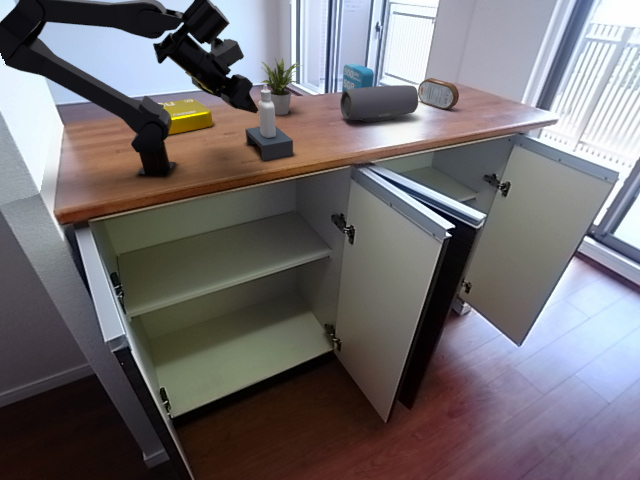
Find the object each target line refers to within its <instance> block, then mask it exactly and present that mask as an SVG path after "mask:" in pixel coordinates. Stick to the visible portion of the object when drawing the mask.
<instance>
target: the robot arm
mask: <svg viewBox="0 0 640 480" xmlns="http://www.w3.org/2000/svg"><path fill="white" fill-rule="evenodd" d="M47 23H53V24H64V25H65V24H66V25H76V26H77V25H78V26H87V27H88V26H89V27H99V28H100V27H101V28H112V29H116V30H119V31H123V32H125V33H128V34H131V35H134V36H138V37H141V38H146V39H149V40H156V39H159V38H161V37H162V36H163V35H164V34H165V32H168V31H174V32H169V33H168V34H167V35H166V36H165V37H164V38H163V40H161V41H160V42H158V43H157V42H156V43H155V42H154V43H152V46H153V50H154V54H155V58H156V61H157V64H159V65H161V64H163V62H164V61H166V59H168V58H169V59H170V60H171V61H172V62H174V63H175V64H176V65H177V66H178V67H179V68H181V69H182V70H183V71H184V72H185V74H186V75H187V76H189V77H190V79H191V84H192V85H193V86H194V87H196V88H197V89H198V90H201V91H202V92H204V93H206V94H207V95H211V96H213V97H217V98H220V99H221V100H222V101H223V102H224V103H225V104H227V105H228V106H230V107H231V108H233V109H235V110H239V111H240V110H241V111H244V112H248V113H253V114H257V113H259V107H258V106H257V104H256V103H255V101H254V99H253V98H252V96H251V94H250V92H251V90H252V88H253V87H254V83H253V82H252V81H251V80H250V79H249V78H248V77H247V76H244V75H242V74H240V73H236V74H232V76H231V77H229V74H230V73H231V71H232V69H231V68H230V67H231V66H232V65H234V64H236V63H237V62H238V61H241V60H243V59H244V58H245V54H244V53H243V51H242V48H241V46H240V44H239V42H238V41H237V40H234V39H231V38H227V39H226V38H223V40H222V39H221V38H219V36H220V35H221V33H222V32H223V31H224V30H225V29H226V28H227V27H228V26H229V25H230V24H231V23H230V21H229V20H228V18H227V17H226V16H225V15H224V13H223V12H222V10H221V9H220V8H219V7H218V6H217V5H215V4H214V3H213V2H212V0H193V1H192V3H190V5H189V6H188V7H187V8H186V9H185V11H184V12H182V11H179V10H174V9H171V8H166V7H165V5H164V4H163V3H162V2H160V1H159V0H126V1H125V0H124V1H118V2H117V1H116V2H109V1H99V0H18V1H17V3H16V5H15V6H14V7H13V8H12V9H11V10H10V11H9V13H7V14H6V16H4V18H2V19H1V20H0V53H1V56H2V59H4V61H5V64H6V65H5V67H8V68H11V69H14V70H17V71H19V72H24V73H28V74H34V75H37V76H41V77H44V78H46V79H48V80H49V81H52V82H54V83H55V84H57V85H58V86H61V87H62V88H64V89H66V90H68V91H69V92H72V93H74V94H75V95H77V96H78V97H79V96H80V98H83V99H85V100H87V101H89V102H91V103H92V104H94V105H96V106H97V107H99V108H101V109H102V110H103V109H104V110H105V111H107V112H109V113H111V114H113V115H115V116H117V117H118V118H120V119H121V120H122V121H123V122H124V123H125V124H126V125H127V126H128V127H129V128H130V129H131V130H132V132H134V133H135V134H134V136H133V139H132V141H131V142H130V145H131V147H132V149H133V150H134V152H135V153H138V155H139V158H140V161H141V165H142V167H141V168H140V170H139V171H138V172H137V175H138V176H144V177H146V176H147V177H149V176H150V177H167V176H169V174H170V172H171V171H173V168H174V167H175V166H176V161H170V159H169V155H168V151H167V147H166V146H167V145H166V143H165V141H166V140H167V138H168V136H169V135H168V134H169V131H170V128H171V125H172V119H171V116H170V114H169V113H168V111H166V110H165V109H163V107H164V105H161V104H158V103H159V102H156V101H155V100H153V99H152V98H150V97H149V96H148V95H144V96H143V97H142V99H141V100H140V99H136V98H133V97H130V96H128V95H126V94H124V93H123V92H121V91H119V90H118V89H116V88H114V87H112V86H111V85H109V84H107V83H105V82H103V81H102V80H101V79H98V78H97V77H95V76H93V75H91V74H90V73H88V72H86V71H84V70H82V69H81V68H79V67H78V66H76V65H73V64H72V63H71V62H69V61H67V60H65V59H63V58H62V57H60V56H58V55H57V54H55V53H54V52H53V51H52V50H51V49H50V47H49V46H48V45H47V44H46V43H45V42H44V41H43V40H42V39H40V38H39V36H40V35H41V34H42V32H43V30H44V28H45V27H46V24H47ZM181 24H182V25H181ZM189 34H190V35H189ZM205 43H206V44H207V45H210V48H209V49H210V51H209V52H208V51H207V50H206V49H204V48H203V47H202V46H201V45H204V44H205Z"/></svg>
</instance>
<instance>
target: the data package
mask: <svg viewBox="0 0 640 480" xmlns="http://www.w3.org/2000/svg"><path fill="white" fill-rule="evenodd" d="M374 79H375V73H374V70H373V69H372V68H369V67H366V66H365V65H361V64H359V63H358V62H357V63H356V62H355V63H347V64H344V66H343V70H342V85H341V87H342V88H341V95H342V94H343V91H345V90H349V89H356V88H364V87H374Z"/></svg>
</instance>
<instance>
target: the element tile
mask: <svg viewBox="0 0 640 480" xmlns="http://www.w3.org/2000/svg"><path fill="white" fill-rule="evenodd" d="M157 103H158V104H161V105H164V107H163V109H165V110H166V111H168V113H169V114H170V116H171V119H172V125H171V128H170V131H169V134H168V136H171V135H176V134H182V133H187V132H192V131H197V130H201V129H207V128H211V127H212V126H213V125H214V124H213V123H214V122H213V115H212V110H211V109H210V108H208V107H207V106H205V105H204V104H202V103H201V102H199V100H197V99H195V98H186V99H185V98H184V99H179V100H172V101H165V102H157Z"/></svg>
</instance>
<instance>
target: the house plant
mask: <svg viewBox="0 0 640 480" xmlns="http://www.w3.org/2000/svg"><path fill="white" fill-rule="evenodd" d="M274 61H275V64H276V67H274V69H273V70H272V69H271V68H270V67H269V66H268V65H267V64H266V63H265V62H264V61H261V64H263V65H264V67H265V68H263V67H261V69H262V70H264V72H265V73H266V74H267V76H268V79H264V80H261V82H260V84H264V83H265V84H267V85H269V87H270V88H271V89H270V91H271V101H272V102H273V104H274V108H275V116H285V115H288V114H289V111H290V105H291V96H292V91H290V90H289V89H286V87H287V86H288V85H289V84H291V83H293V84H295V83H297V84H299V81H298V80H293V78H292V77H293V76H294V74H293V73H296V72H297V73H298V72H299V71H298V70H294V69H295V68H297V67H303V65H301V64H300V65H297V64H299V63H300V61H298V62H295V63H293V64H291V66H290V67H289V68H288V69H286V70H285V62H284V57H281V60H280V61H279V63H278V60H277V58H276V57H274ZM293 70H294V71H293ZM292 74H293V75H292ZM291 78H292V79H291Z"/></svg>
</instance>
